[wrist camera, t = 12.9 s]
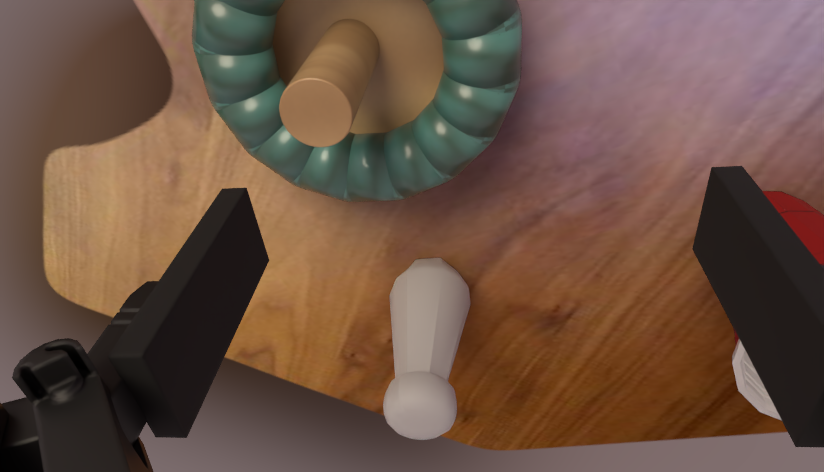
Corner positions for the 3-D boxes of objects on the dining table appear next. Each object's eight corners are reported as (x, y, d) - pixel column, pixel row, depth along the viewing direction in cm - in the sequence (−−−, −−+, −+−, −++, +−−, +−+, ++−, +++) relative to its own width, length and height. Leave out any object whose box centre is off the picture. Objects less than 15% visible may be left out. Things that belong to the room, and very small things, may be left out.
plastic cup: (824, 119, 33) (971, 239, 23) (866, 244, 38) (1003, 388, 28) (644, 203, 37) (705, 334, 28) (702, 306, 42) (772, 450, 32)
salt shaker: (475, 252, 41) (477, 398, 30) (465, 309, 44) (464, 459, 34) (395, 243, 41) (369, 386, 31) (391, 302, 44) (367, 448, 34)
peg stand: (238, -57, 30) (148, -12, 22) (444, -78, 29) (433, -38, 20) (285, 132, 36) (229, 224, 28) (456, 122, 35) (451, 216, 27)
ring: (166, -117, 27) (125, -110, 24) (521, -157, 25) (529, -155, 22) (255, 184, 37) (234, 218, 34) (516, 173, 35) (521, 208, 32)
